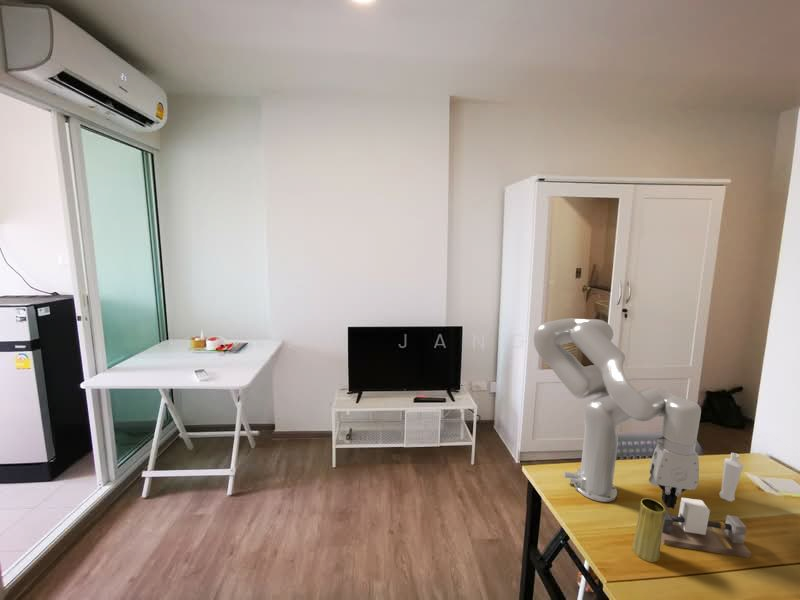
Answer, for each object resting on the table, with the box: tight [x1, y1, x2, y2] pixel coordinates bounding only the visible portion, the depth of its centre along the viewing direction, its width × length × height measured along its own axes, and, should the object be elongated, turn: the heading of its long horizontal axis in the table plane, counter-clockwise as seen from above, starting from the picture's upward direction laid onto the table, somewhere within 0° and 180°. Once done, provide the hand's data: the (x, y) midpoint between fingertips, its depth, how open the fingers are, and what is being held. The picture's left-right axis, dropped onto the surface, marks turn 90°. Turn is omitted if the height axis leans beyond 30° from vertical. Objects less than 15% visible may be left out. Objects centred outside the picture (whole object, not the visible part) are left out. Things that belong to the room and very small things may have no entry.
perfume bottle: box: [718, 452, 744, 502], centre depth 121 cm, size 5×4×15 cm
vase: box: [631, 497, 666, 563], centre depth 99 cm, size 6×6×14 cm
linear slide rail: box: [661, 508, 752, 559], centre depth 106 cm, size 20×10×6 cm, turn 78°
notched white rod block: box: [677, 497, 711, 535], centre depth 105 cm, size 5×4×8 cm
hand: (668, 504), depth 106 cm, fingers closed
